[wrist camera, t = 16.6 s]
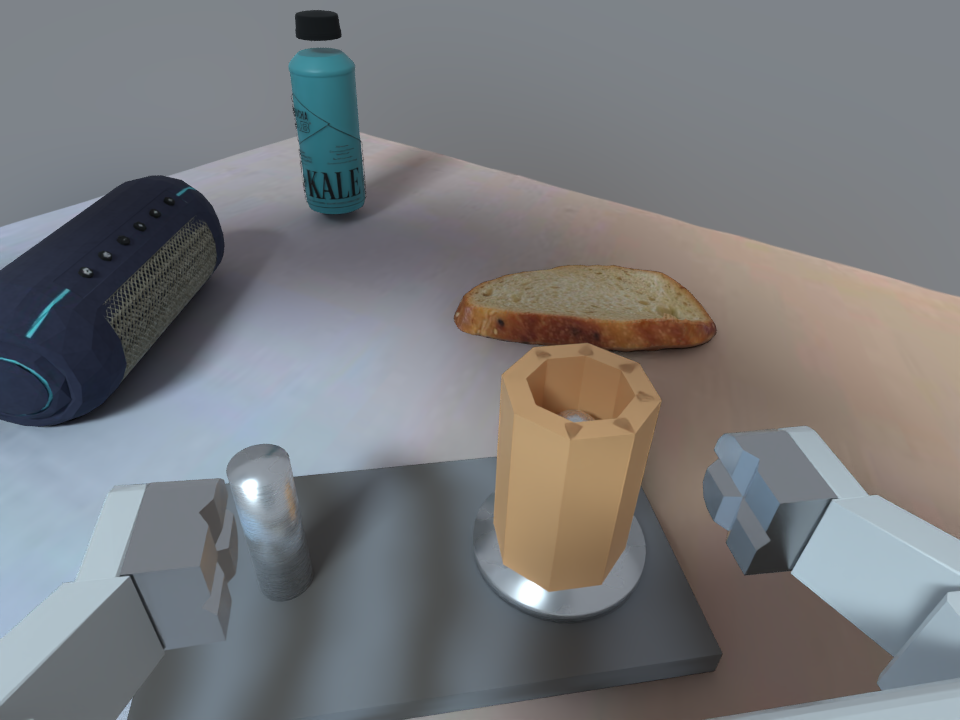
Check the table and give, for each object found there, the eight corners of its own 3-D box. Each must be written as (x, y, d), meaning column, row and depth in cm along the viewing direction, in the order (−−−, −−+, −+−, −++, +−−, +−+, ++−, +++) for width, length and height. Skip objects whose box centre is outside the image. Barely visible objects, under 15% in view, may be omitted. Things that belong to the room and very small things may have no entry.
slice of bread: (436, 318, 56) (435, 280, 54) (573, 255, 66) (577, 221, 64) (601, 424, 46) (608, 382, 43) (734, 330, 56) (745, 292, 53)
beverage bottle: (339, 199, 75) (318, 3, 63) (381, 214, 72) (367, 11, 60) (294, 217, 71) (263, 10, 59) (337, 234, 68) (312, 19, 56)
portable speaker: (105, 456, 41) (48, 324, 36) (-45, 444, 42) (-127, 312, 36) (248, 268, 62) (226, 164, 56) (145, 262, 62) (113, 158, 56)
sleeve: (510, 597, 31) (524, 445, 25) (487, 496, 36) (493, 349, 30) (638, 580, 32) (679, 429, 26) (598, 484, 37) (625, 339, 31)
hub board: (131, 761, 27) (34, 615, 21) (193, 505, 38) (142, 359, 32) (714, 670, 31) (781, 523, 25) (617, 461, 42) (646, 323, 36)
